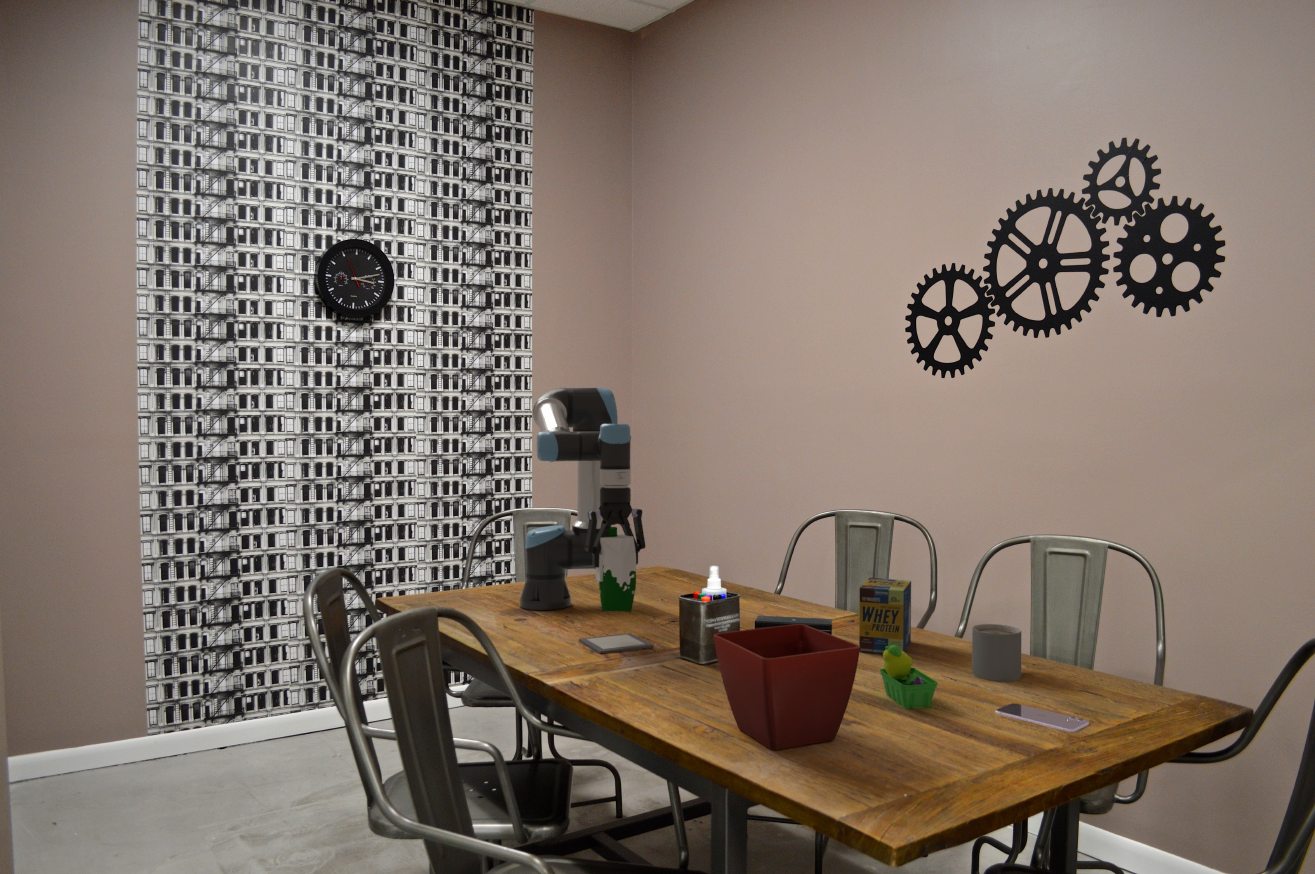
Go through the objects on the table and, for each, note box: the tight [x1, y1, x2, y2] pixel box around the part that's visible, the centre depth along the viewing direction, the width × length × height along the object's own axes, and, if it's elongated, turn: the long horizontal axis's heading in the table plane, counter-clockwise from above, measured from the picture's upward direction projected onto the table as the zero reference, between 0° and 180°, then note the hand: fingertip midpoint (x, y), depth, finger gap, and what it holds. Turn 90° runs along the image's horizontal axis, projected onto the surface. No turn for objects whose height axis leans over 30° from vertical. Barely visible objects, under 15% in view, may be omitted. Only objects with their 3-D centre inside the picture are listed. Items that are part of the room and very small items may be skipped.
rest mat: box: [578, 633, 654, 655], centre depth 227 cm, size 14×14×1 cm
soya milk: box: [598, 526, 637, 613], centre depth 227 cm, size 9×9×20 cm
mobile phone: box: [994, 702, 1089, 733], centre depth 171 cm, size 8×1×15 cm
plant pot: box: [713, 623, 861, 751], centre depth 161 cm, size 19×19×17 cm
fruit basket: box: [879, 645, 938, 710], centre depth 181 cm, size 11×9×11 cm
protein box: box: [858, 577, 912, 655], centre depth 224 cm, size 10×15×16 cm
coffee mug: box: [971, 623, 1022, 683], centre depth 200 cm, size 13×10×10 cm
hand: (615, 579), depth 226 cm, fingers closed on soya milk, 8 cm apart
